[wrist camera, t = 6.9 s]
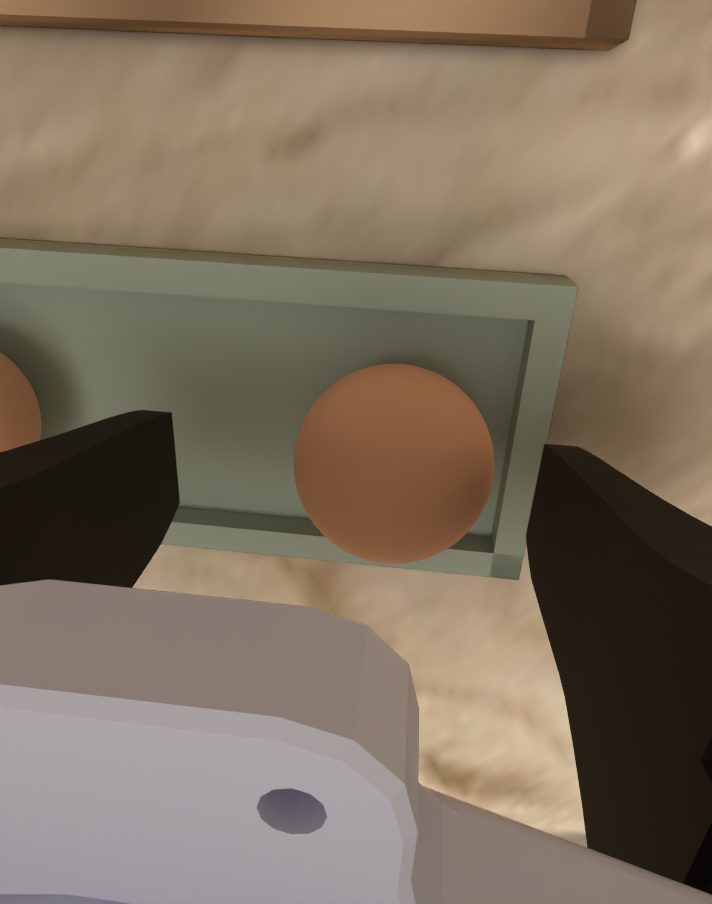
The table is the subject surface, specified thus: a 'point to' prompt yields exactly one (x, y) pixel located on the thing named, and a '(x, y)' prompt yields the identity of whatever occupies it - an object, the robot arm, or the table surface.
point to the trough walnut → (350, 19)
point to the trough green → (282, 372)
